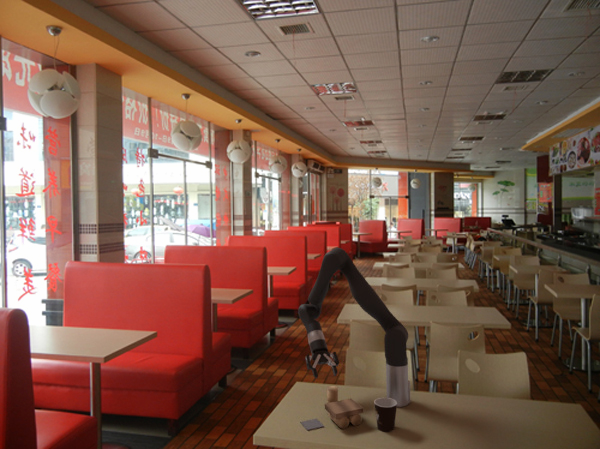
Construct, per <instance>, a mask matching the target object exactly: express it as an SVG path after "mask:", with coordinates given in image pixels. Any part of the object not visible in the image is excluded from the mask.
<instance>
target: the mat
mask: <svg viewBox="0 0 600 449" xmlns="http://www.w3.org/2000/svg"><path fill="white" fill-rule="evenodd" d="M300 424H301V425H302V427H304V429H305V430H306V431H312V430H317V429H320V428H324V427H325V425H324V424H323V423H322V422H320V420H319V419H317V417H315V418H311V419H308V420H304V421H303V420H302V421H300Z"/></svg>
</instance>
